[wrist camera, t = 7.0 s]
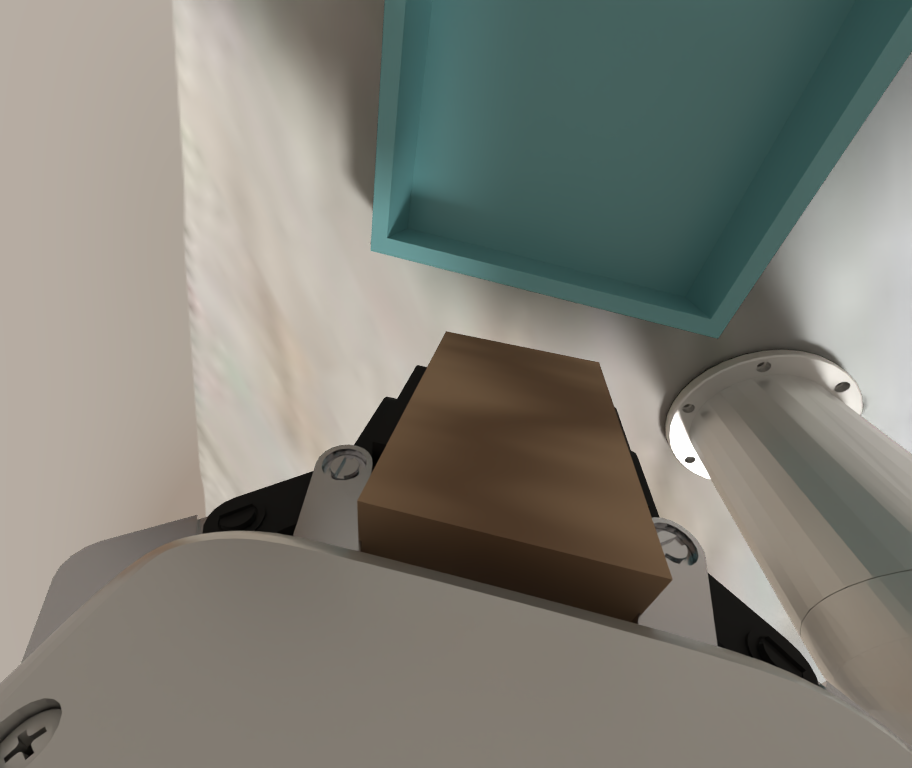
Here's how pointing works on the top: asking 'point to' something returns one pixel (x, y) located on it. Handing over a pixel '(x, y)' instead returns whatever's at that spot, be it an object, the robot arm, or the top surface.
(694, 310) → the bin
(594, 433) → the walnut block
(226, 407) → the top surface
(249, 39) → the top surface
